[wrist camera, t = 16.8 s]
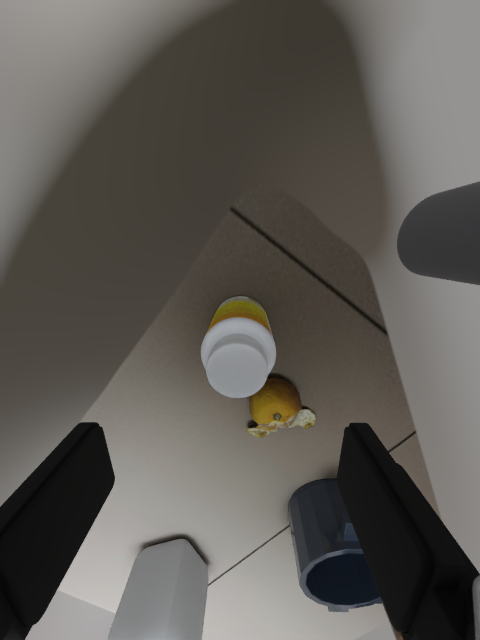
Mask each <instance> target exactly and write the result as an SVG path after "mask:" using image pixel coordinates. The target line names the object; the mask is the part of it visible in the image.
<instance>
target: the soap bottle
mask: <svg viewBox="0 0 480 640" xmlns="http://www.w3.org/2000/svg"><path fill="white" fill-rule="evenodd" d="M207 588H208V567H207V566H206V564H205V563H204V561H203V560H202V559H201V557H200V556H199V555H198V553H197V552H196V551H195V549H194V548H193V547H192V546H191V544H190V543H189V542H188V541H187V540H185V539H176V540H173V541H169V542H165V543H161V544H157V545H153V546H150V547H147V548H145V549H144V550H142V551H141V552H140V553H139V554H138V556H137V558H136V560H135V562H134V564H133V567H132V570H131V573H130V576H129V578H128V581H127V584H126V587H125V590H124V593H123V595H122V598H121V601H120V604H119V607H118V609H117V612H116V615H115V618H114V621H113V624H112V627H111V629H110V632H109V635H108V640H202V632H203V623H204V615H205V606H206V597H207Z"/></svg>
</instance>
